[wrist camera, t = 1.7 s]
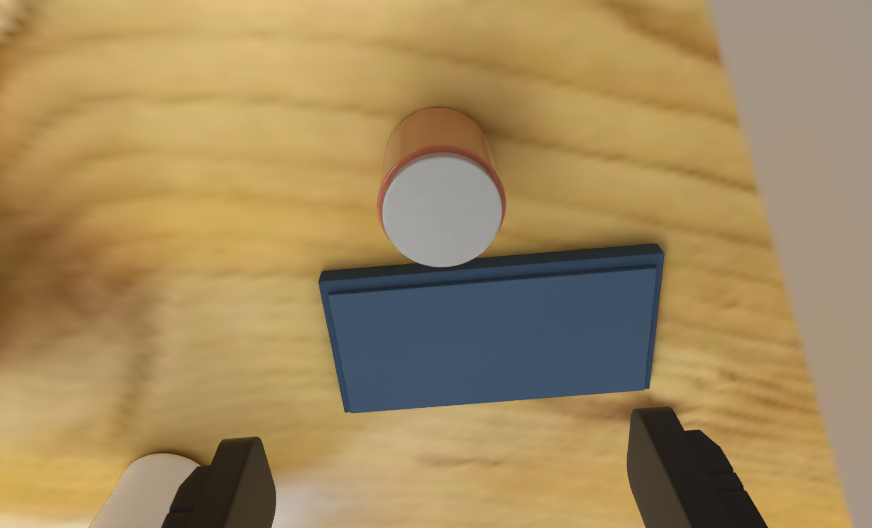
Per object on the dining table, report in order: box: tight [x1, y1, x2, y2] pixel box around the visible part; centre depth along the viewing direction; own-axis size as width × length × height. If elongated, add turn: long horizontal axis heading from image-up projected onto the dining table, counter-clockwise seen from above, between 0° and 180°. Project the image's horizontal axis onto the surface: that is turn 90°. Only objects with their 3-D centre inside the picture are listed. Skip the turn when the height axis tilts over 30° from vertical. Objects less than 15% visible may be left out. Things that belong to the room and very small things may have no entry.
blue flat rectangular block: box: [318, 244, 664, 413], centre depth 30 cm, size 8×16×1 cm, turn 95°
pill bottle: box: [377, 107, 506, 267], centre depth 24 cm, size 5×5×6 cm
